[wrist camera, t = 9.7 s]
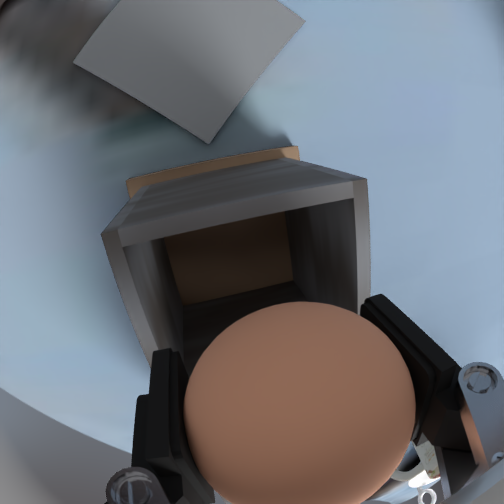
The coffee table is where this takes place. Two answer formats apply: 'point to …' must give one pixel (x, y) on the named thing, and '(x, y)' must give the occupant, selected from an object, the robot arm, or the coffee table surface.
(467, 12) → the coffee table surface
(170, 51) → the mat
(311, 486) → the ball
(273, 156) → the dark grey boxy container
